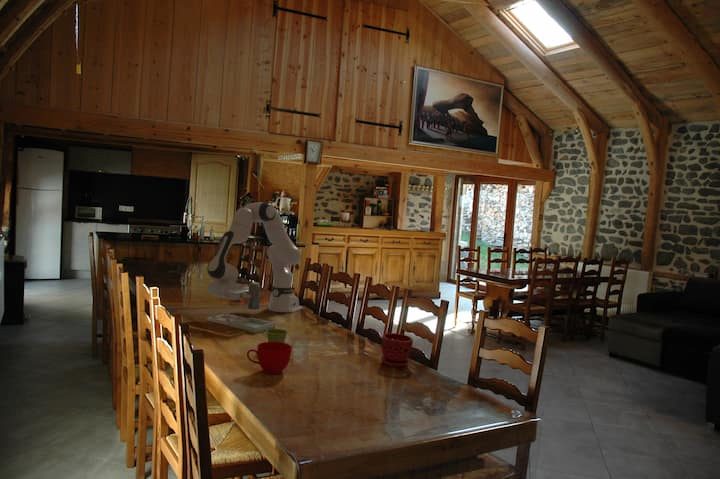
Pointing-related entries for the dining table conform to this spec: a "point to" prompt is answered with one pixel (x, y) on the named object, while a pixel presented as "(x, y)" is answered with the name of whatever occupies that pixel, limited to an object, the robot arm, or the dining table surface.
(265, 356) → the ceramic cup
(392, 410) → the dining table surface
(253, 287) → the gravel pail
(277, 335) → the plant pot
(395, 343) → the plant pot
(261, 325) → the bin
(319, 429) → the dining table surface
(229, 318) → the tray
